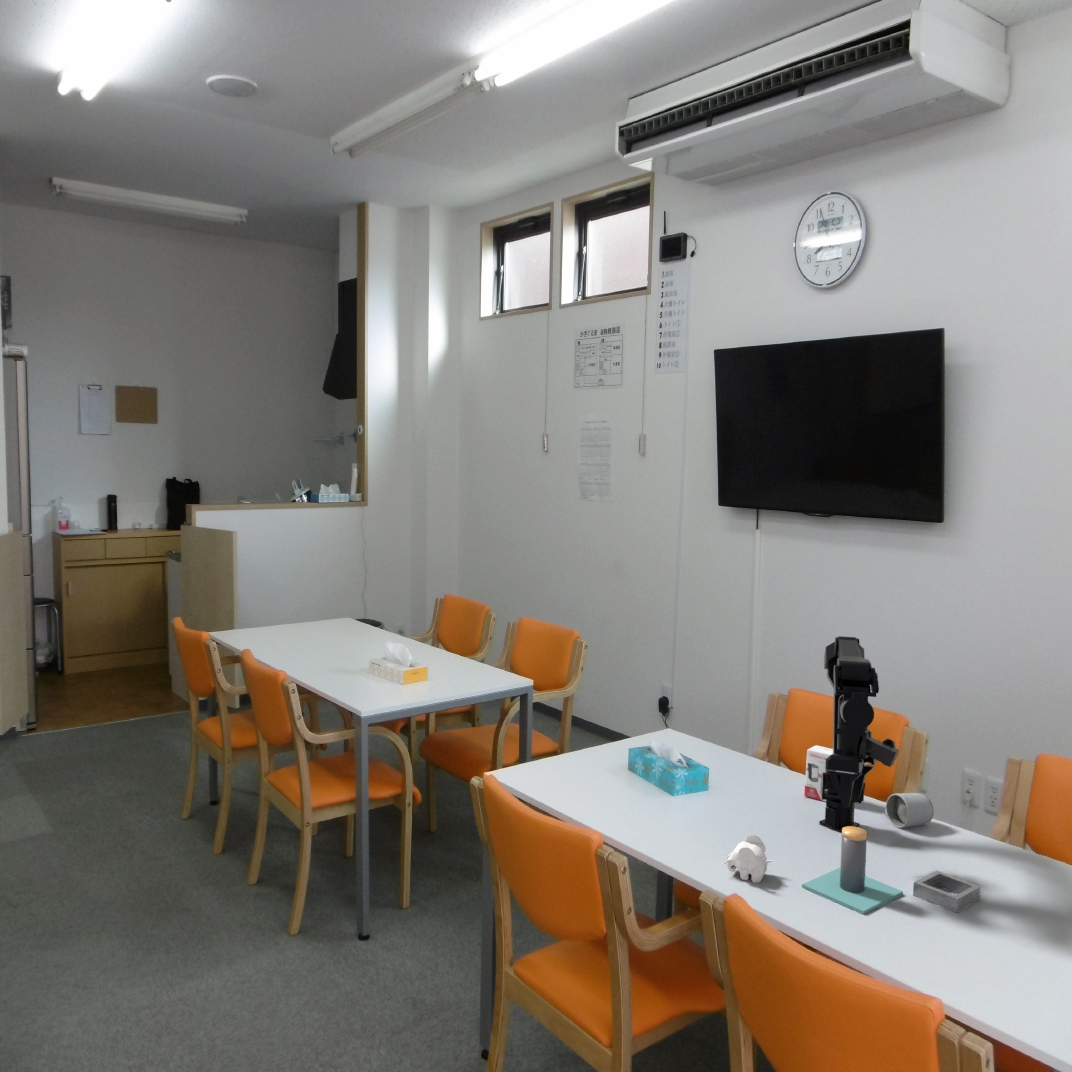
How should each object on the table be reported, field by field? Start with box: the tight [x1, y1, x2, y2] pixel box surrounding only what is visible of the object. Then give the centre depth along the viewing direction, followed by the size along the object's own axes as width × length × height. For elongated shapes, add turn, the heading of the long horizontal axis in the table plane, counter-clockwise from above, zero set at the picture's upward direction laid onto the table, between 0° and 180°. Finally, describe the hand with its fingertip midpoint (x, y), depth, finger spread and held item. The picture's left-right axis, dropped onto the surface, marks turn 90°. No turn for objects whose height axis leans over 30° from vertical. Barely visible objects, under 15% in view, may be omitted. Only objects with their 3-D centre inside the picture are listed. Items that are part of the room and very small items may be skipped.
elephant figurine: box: [721, 834, 773, 884], centre depth 176 cm, size 8×10×7 cm
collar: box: [912, 870, 981, 914], centre depth 169 cm, size 8×8×2 cm
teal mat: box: [801, 866, 904, 915], centre depth 171 cm, size 13×13×1 cm
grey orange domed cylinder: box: [840, 826, 868, 893], centre depth 170 cm, size 4×4×11 cm
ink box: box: [803, 745, 833, 802], centre depth 219 cm, size 9×5×12 cm, turn 50°
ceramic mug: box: [884, 792, 934, 829], centre depth 205 cm, size 10×8×7 cm
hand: (851, 803), depth 179 cm, fingers open, 9 cm apart
